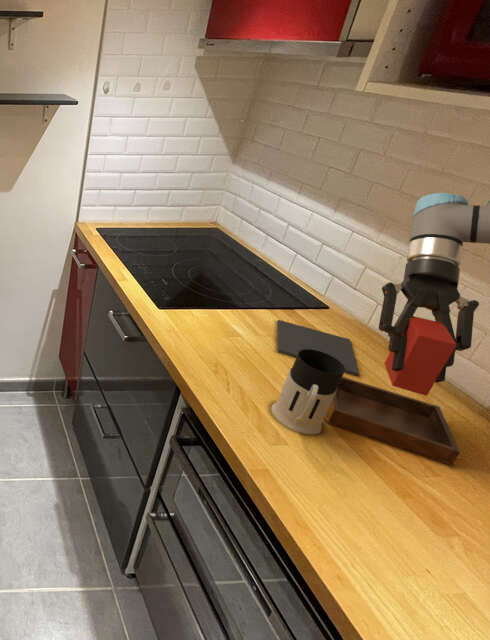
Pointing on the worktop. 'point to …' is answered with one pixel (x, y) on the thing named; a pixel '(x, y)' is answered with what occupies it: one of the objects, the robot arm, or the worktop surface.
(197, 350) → the worktop surface
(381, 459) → the worktop surface
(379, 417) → the dark brown wooden tray
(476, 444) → the worktop surface
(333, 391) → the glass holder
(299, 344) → the mat
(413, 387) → the block
